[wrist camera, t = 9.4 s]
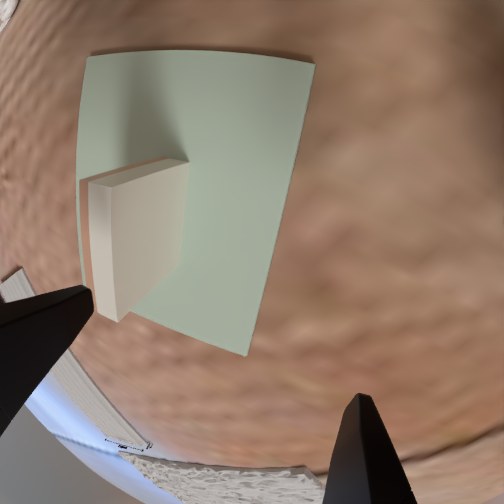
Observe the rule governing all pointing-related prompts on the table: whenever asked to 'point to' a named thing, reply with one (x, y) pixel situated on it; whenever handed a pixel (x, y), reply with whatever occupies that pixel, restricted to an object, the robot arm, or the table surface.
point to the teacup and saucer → (7, 11)
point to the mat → (203, 170)
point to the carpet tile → (230, 482)
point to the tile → (131, 231)
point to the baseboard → (78, 378)
